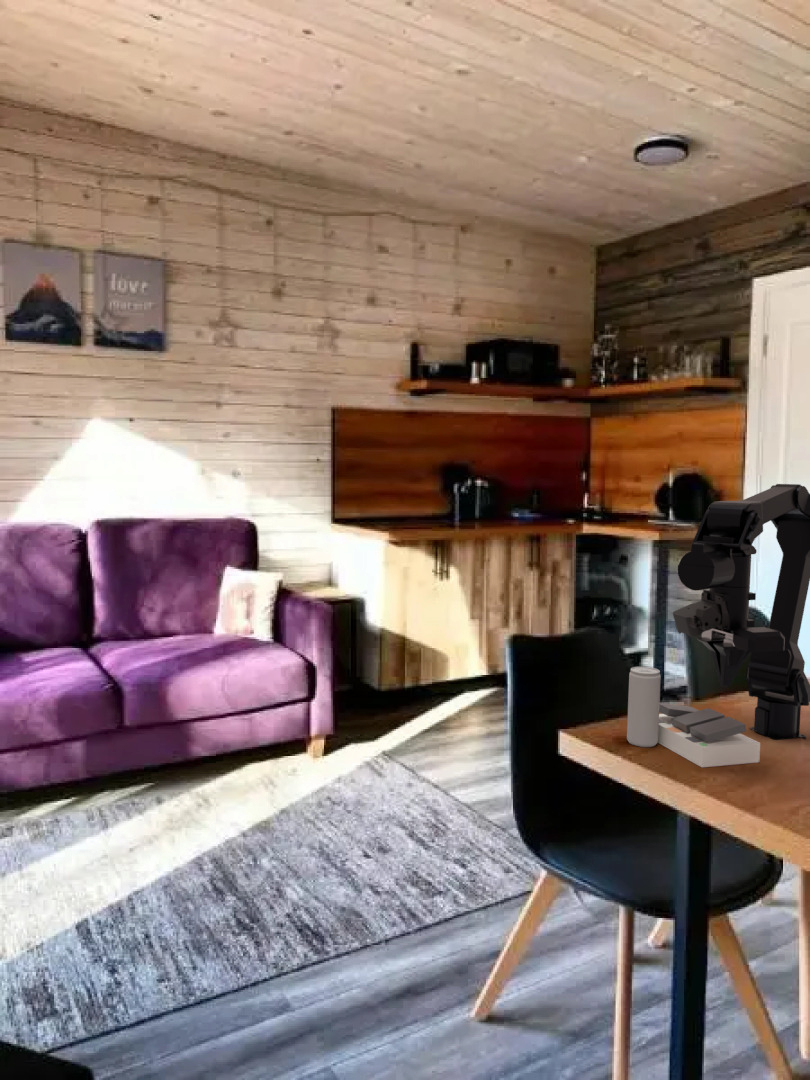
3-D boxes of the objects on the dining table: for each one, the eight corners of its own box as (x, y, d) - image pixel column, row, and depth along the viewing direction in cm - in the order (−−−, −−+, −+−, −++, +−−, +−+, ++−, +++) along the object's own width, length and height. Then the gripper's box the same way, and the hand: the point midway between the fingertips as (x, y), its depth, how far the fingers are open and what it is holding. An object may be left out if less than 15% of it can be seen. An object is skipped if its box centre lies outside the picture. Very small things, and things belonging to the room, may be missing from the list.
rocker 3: (729, 723, 134) (728, 716, 134) (746, 731, 130) (745, 724, 130) (690, 734, 132) (689, 727, 132) (706, 742, 128) (705, 735, 128)
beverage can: (659, 749, 134) (662, 674, 133) (627, 747, 135) (630, 672, 134) (656, 740, 139) (659, 667, 138) (625, 737, 140) (628, 665, 139)
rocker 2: (709, 715, 139) (709, 707, 138) (725, 722, 135) (724, 714, 135) (672, 725, 137) (671, 718, 137) (686, 732, 133) (685, 725, 133)
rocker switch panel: (692, 728, 146) (693, 710, 145) (759, 762, 129) (760, 741, 129) (640, 732, 143) (641, 714, 143) (701, 767, 127) (702, 746, 126)
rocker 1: (690, 713, 143) (691, 706, 143) (704, 720, 140) (706, 713, 140) (654, 709, 141) (655, 702, 141) (667, 716, 138) (669, 708, 138)
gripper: (648, 578, 136) (645, 674, 138) (722, 595, 118) (717, 706, 120) (709, 576, 139) (705, 671, 141) (789, 593, 121) (784, 701, 123)
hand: (724, 686), depth 131 cm, fingers closed
